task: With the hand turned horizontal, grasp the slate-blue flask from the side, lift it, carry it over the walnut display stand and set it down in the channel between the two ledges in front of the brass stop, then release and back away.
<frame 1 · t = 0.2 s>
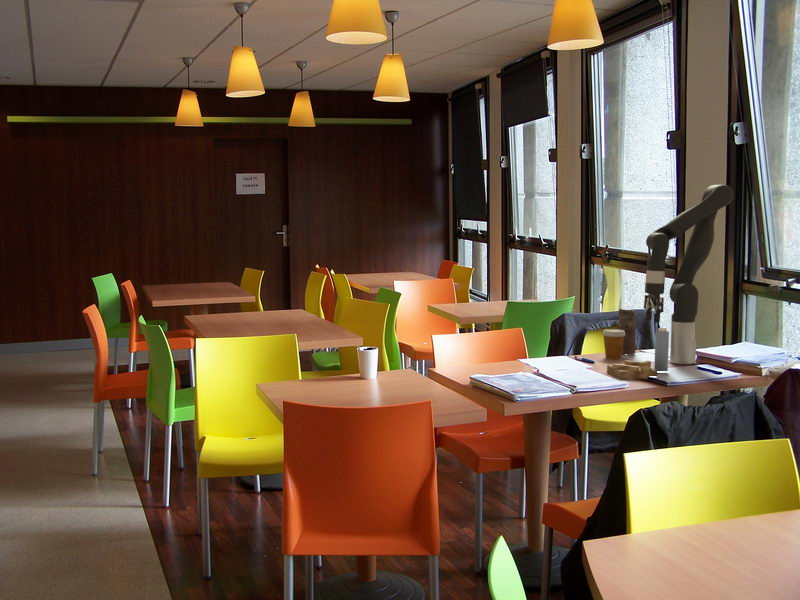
hand: (652, 321, 341), 17 cm above the table, tool pointing down, fingers open, 8 cm apart
flask: (660, 372, 323), on the table
display stand: (631, 375, 316), on the table
disposable coffee cup: (613, 358, 356), on the table
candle: (626, 354, 367), on the table
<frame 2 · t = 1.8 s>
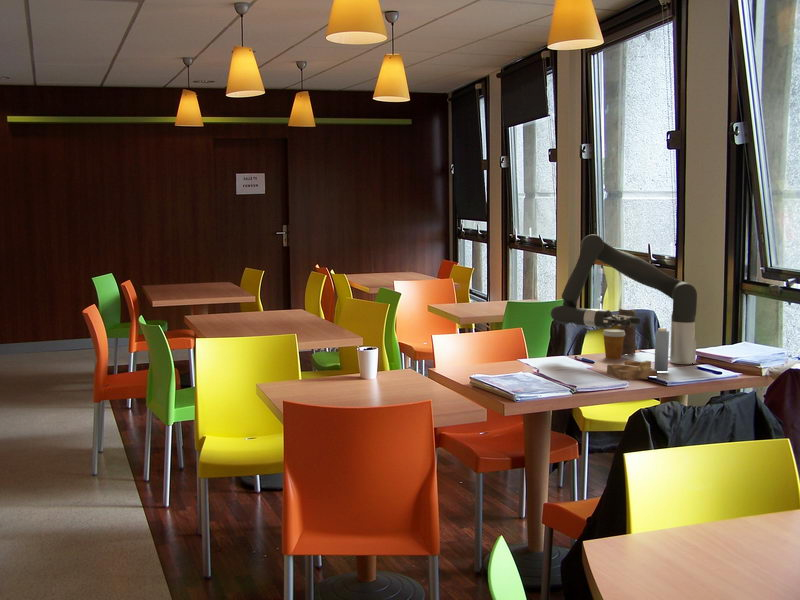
hand: (635, 322, 329), 19 cm above the table, tool horizontal, fingers open, 8 cm apart
nothing on the table moved.
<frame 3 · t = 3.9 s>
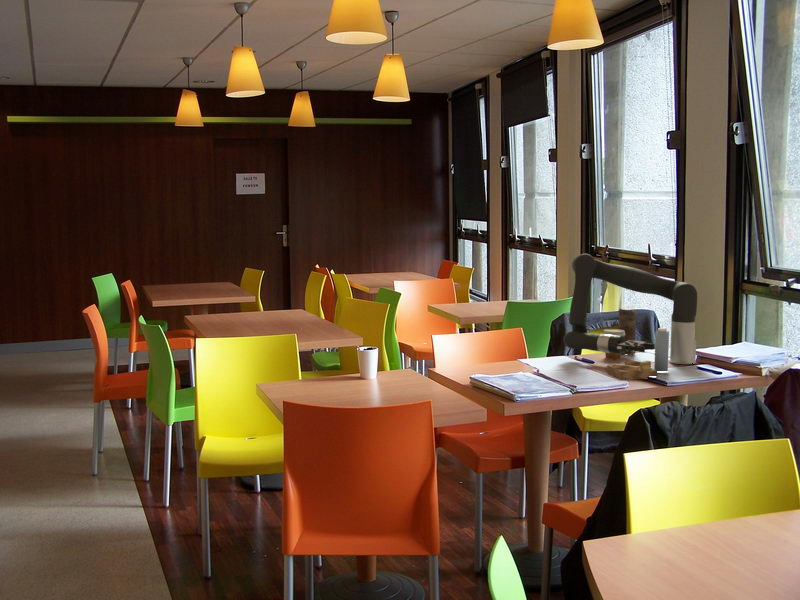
hand: (649, 348, 326), 9 cm above the table, tool horizontal, fingers open, 8 cm apart
nothing on the table moved.
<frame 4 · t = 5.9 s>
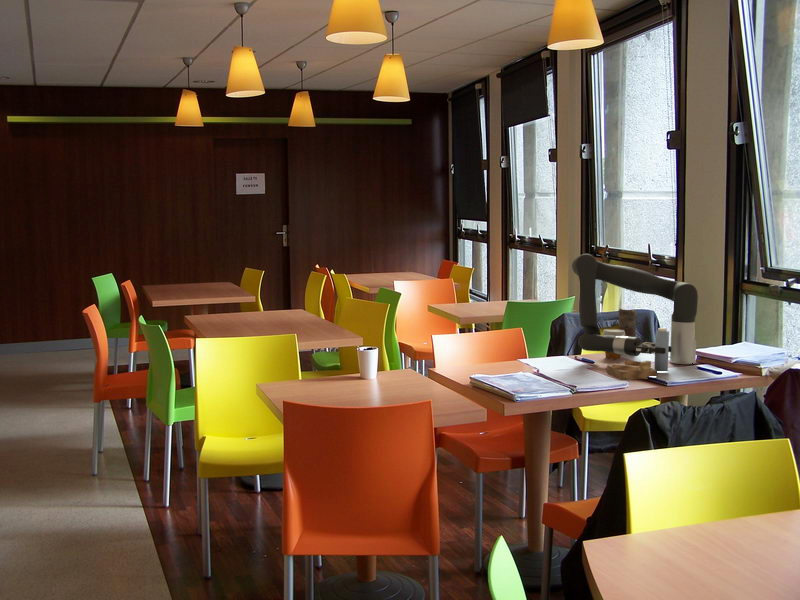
hand: (668, 350, 321), 9 cm above the table, tool horizontal, fingers closed on flask, 5 cm apart
flask: (660, 372, 323), on the table, touching gripper
everything else where it was.
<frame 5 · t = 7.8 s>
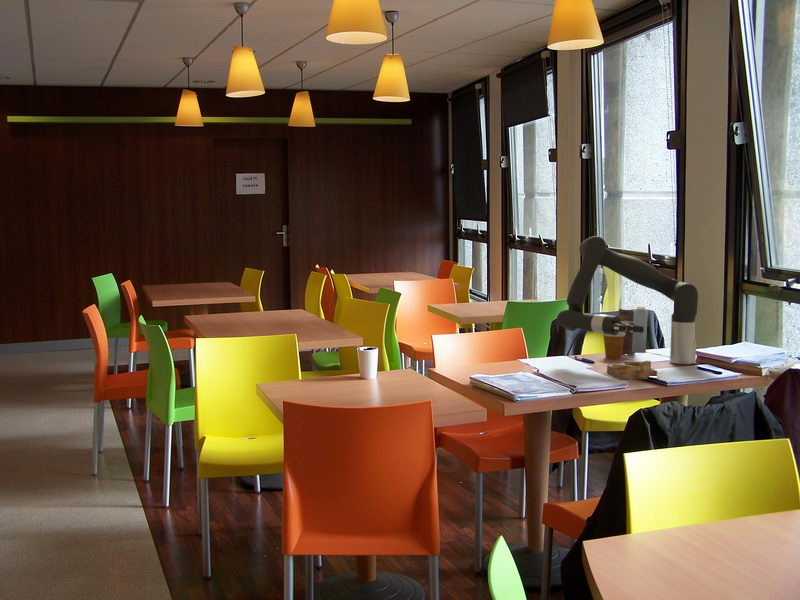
hand: (646, 329, 315), 18 cm above the table, tool horizontal, fingers closed on flask, 5 cm apart
flask: (638, 351, 318), point 9 cm above the table, touching gripper
everything else where it was.
when the fingers open (13 cm above the table, at t = 9.6 s): flask drops 1 cm, resting on display stand.
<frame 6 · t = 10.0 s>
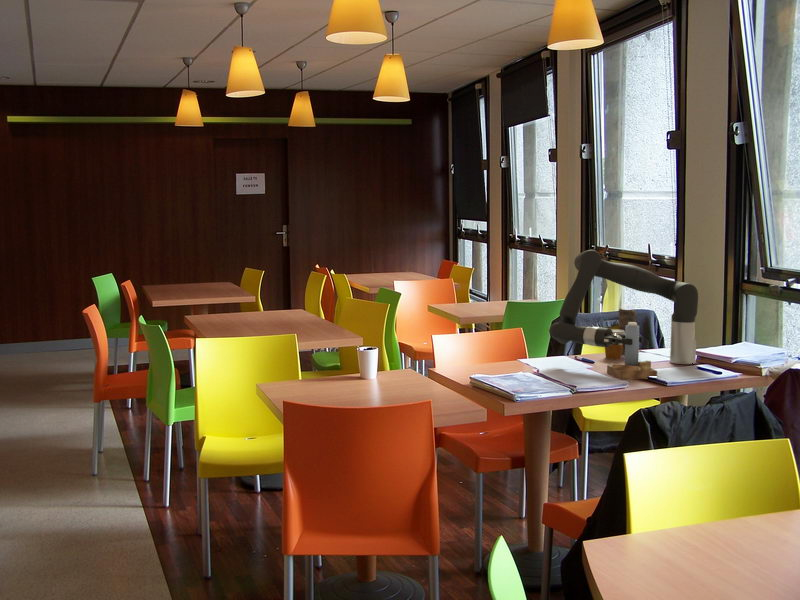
hand: (637, 340, 314), 14 cm above the table, tool horizontal, fingers open, 8 cm apart
flask: (631, 367, 316), point 3 cm above the table, touching display stand
everything else where it was.
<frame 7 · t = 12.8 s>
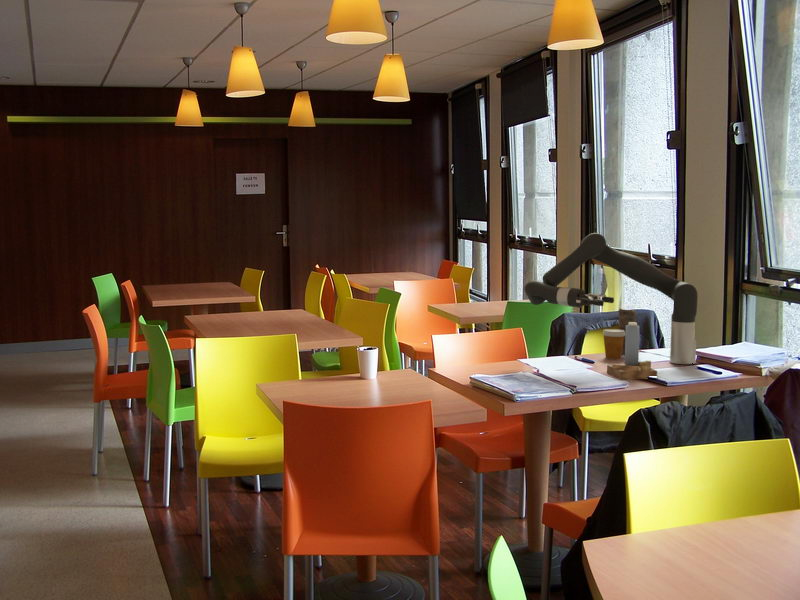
hand: (608, 301, 321), 27 cm above the table, tool horizontal, fingers open, 8 cm apart
nothing on the table moved.
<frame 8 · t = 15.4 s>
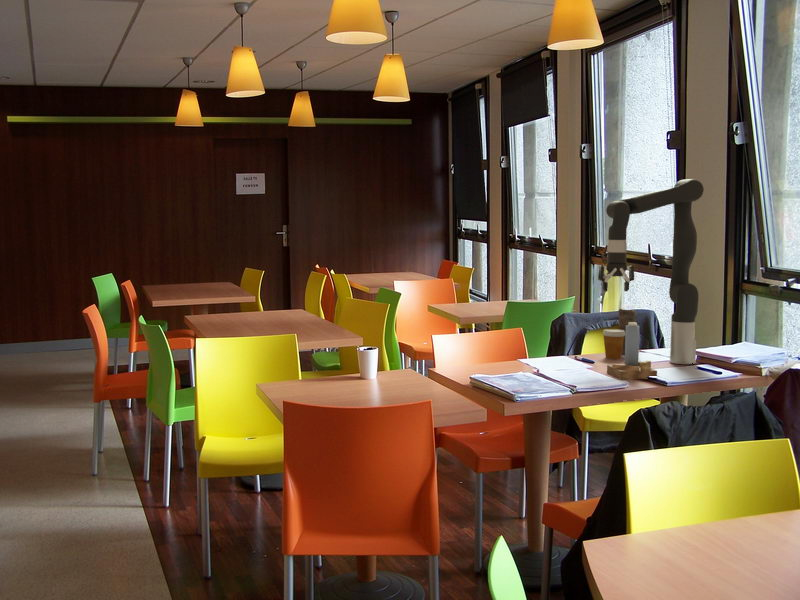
hand: (615, 291, 336), 30 cm above the table, tool pointing down, fingers open, 8 cm apart
nothing on the table moved.
at the end: flask inside the target area on the display stand (0.1 cm from its centre), point 3.0 cm above the display stand's base; flask tilted 0°; the gripper is holding nothing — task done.
